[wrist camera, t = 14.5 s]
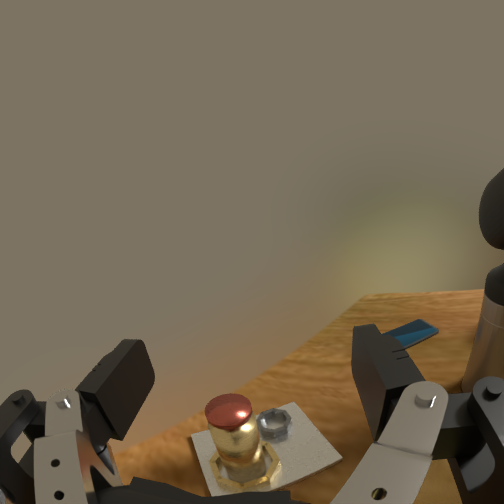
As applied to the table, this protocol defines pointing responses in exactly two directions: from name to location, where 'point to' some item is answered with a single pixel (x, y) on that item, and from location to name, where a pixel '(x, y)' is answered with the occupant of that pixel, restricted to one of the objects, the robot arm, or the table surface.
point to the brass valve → (236, 436)
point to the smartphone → (413, 333)
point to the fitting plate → (272, 453)
